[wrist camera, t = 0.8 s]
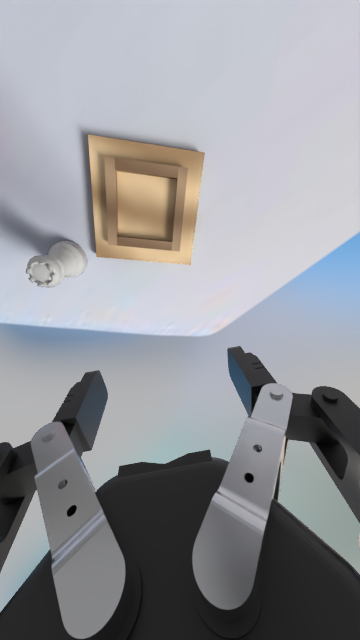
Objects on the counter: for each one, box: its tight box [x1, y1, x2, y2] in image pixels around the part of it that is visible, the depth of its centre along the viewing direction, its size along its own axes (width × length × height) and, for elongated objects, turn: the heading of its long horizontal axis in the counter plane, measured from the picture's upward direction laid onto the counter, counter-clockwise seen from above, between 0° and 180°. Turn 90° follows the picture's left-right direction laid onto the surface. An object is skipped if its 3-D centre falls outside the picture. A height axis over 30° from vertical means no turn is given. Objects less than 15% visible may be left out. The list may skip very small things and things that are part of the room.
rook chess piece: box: [26, 241, 88, 288], centre depth 24 cm, size 4×4×8 cm
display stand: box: [88, 134, 204, 265], centre depth 25 cm, size 12×12×2 cm
